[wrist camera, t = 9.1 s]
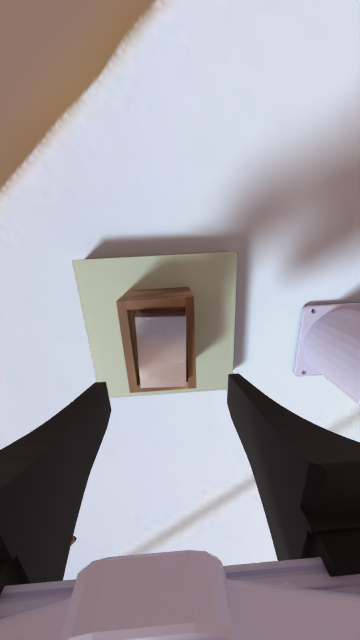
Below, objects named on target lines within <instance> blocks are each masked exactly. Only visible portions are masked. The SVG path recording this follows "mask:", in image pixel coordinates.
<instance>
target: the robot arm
mask: <svg viewBox="0 0 360 640" xmlns="http://www.w3.org/2000/svg"><path fill="white" fill-rule="evenodd" d="M312 309H314V311H313V312H311V311H312ZM302 371H304V372H302ZM293 373H294V374H295V375H296V376H298V377H299V376H313V375H323V376H324V377H325V378H327V379H328V380H329V381H330V382H332V383H333V384H334V385H335V386H337V387H338V388H339V389H340V390H342V391H343V392H344V393H345V394H346V395H348V396H349V397H350V398H351V399H353V400H354V401H355V402H356V403H358V404H359V405H360V303H343V304H327V305H310V306H305V307H304V308H303V309H302V314H301V321H300V328H299V335H298V342H297V349H296V356H295V362H294V369H293ZM227 404H228V408H229V411H230V415H231V418H232V421H233V423H234V426H235V428H236V431H237V433H238V435H239V438H240V440H241V443H242V445H243V447H244V450H245V452H246V455H247V457H248V460H249V462H250V465H251V468H252V471H253V475H254V478H255V481H256V484H257V488H258V491H259V494H260V498H261V501H262V504H263V508H264V511H265V515H266V518H267V522H268V525H269V529H270V533H271V536H272V540H273V544H274V547H275V551H276V555H277V559H278V561H273V562H262V563H251V564H240V565H229V566H223V565H222V563H221V561H220V560H219V559H218V558H217V557H215V556H213V555H211V554H210V553H208V552H206V551H193V550H185V551H174V552H163V553H152V554H140V555H129V556H118V557H108V558H104V559H100V560H96V561H93V562H91V563H90V564H89V565H88V566H86V567H85V568H84V569H83V570H82V571H81V572H79V573H78V576H77V579H76V580H65V581H63V577H64V572H65V568H66V563H67V559H68V554H69V550H70V546H71V542H72V538H73V533H74V529H75V525H76V521H77V517H78V514H79V510H80V506H81V502H82V498H83V495H84V491H85V488H86V484H87V481H88V477H89V474H90V471H91V468H92V466H93V463H94V461H95V458H96V455H97V453H98V450H99V448H100V445H101V442H102V440H103V437H104V434H105V432H106V429H107V426H108V422H109V418H110V413H111V406H110V401H109V395H108V389H107V384H106V382H95V383H94V384H93V385H92V386H90V387H89V388H88V389H87V390H86V391H84V392H83V393H82V394H81V395H80V396H79V397H77V398H76V399H75V400H74V401H73V402H71V403H70V404H69V405H68V406H66V407H65V408H64V409H63V410H61V411H60V412H59V413H57V414H56V415H55V416H54V417H52V418H51V419H49V420H48V421H47V422H45V423H44V424H42V425H41V426H39V427H38V428H36V429H35V430H33V431H32V432H30V433H29V434H27V435H25V436H24V437H22V438H20V439H18V440H17V441H15V442H13V443H12V444H10V445H8V446H7V447H5V448H3V449H1V450H0V640H360V442H357V441H354V440H351V439H348V438H346V437H343V436H341V435H338V434H336V433H333V432H331V431H329V430H326V429H324V428H322V427H320V426H318V425H315V424H313V423H311V422H309V421H307V420H305V419H303V418H302V417H300V416H298V415H296V414H294V413H293V412H291V411H289V410H287V409H286V408H284V407H283V406H281V405H279V404H278V403H276V402H275V401H273V400H272V399H271V398H269V397H268V396H266V395H265V394H264V393H262V392H261V391H260V390H258V389H257V388H256V387H255V386H253V385H252V384H251V383H250V382H248V381H247V380H246V379H245V378H243V377H242V376H241V375H240V374H228V394H227Z"/></svg>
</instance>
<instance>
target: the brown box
mask: <svg viewBox="0 0 360 640" xmlns="http://www.w3.org/2000/svg"><path fill="white" fill-rule="evenodd" d="M116 304H117V311H118V318H119V324H120V331H121V337H122V344H123V351H124V357H125V364H126V371H127V377H128V384H129V390H130V393H137V392H151V391H164V390H178V389H192V388H197V386H196V351H195V316H194V296H193V294H192V292H191V291H190V289H189V287H177V288H160V289H143V290H128V291H127V292H126V293H125V294H124V295H122V296H121V297H120V298H119V299H118V300H117V301H116ZM160 310H185V314H186V386H183V387H156V388H141V387H140V374H139V362H138V349H137V336H136V324H135V317H136V315H137V313H138V311H160Z"/></svg>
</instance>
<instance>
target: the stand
mask: <svg viewBox="0 0 360 640" xmlns="http://www.w3.org/2000/svg"><path fill="white" fill-rule="evenodd" d="M72 263H73V268H74V273H75V278H76V283H77V288H78V292H79V297H80V302H81V307H82V312H83V317H84V322H85V326H86V331H87V336H88V341H89V346H90V351H91V356H92V360H93V365H94V370H95V375H96V380H97V382H106V384H107V389H108V395H109V398H117V397H131V396H144V395H158V394H172V393H185V392H199V391H213V390H226V389H228V374H233V355H234V328H235V301H236V275H237V252H214V253H194V254H175V255H156V256H136V257H117V258H98V259H81V260H72ZM177 287H189V289H190V291H191V292H192V294H193V296H194V316H195V351H196V386H197V388H192V389H178V390H164V391H151V392H137V393H130V390H129V384H128V377H127V371H126V364H125V357H124V351H123V344H122V337H121V331H120V324H119V318H118V311H117V304H116V301H117V300H118V299H119V298H120V297H121V296H122V295H124V294H125V293H126V292H127V291H128V290H143V289H160V288H177Z"/></svg>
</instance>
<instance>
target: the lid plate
mask: <svg viewBox="0 0 360 640" xmlns="http://www.w3.org/2000/svg"><path fill="white" fill-rule="evenodd" d="M135 324H136V336H137V349H138V362H139V374H140V387H141V388H156V387H183V386H186V314H185V310H160V311H138V313H137V315H136V317H135Z"/></svg>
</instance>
